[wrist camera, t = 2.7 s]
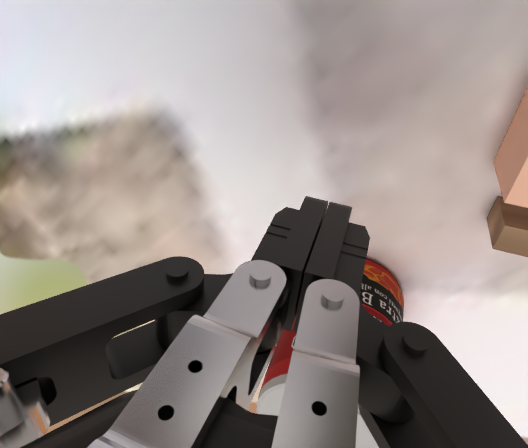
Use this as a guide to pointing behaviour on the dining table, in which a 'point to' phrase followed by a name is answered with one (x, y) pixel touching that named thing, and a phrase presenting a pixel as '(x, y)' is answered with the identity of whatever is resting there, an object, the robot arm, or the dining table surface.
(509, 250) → the trap lane
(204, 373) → the robot arm
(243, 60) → the dining table surface
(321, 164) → the dining table surface
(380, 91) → the dining table surface
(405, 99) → the dining table surface
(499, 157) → the terracotta block
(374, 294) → the canned food
